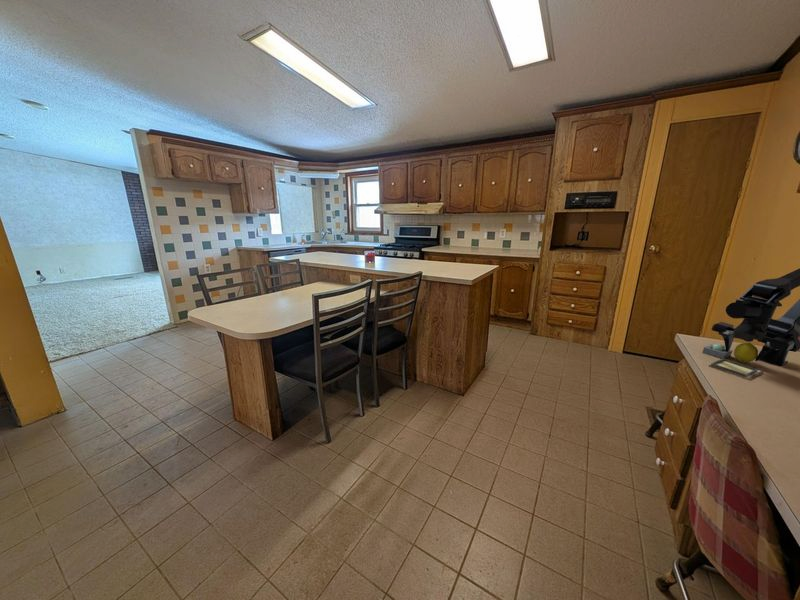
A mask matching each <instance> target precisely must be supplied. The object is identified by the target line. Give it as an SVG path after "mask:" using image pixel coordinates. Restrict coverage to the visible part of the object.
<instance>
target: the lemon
mask: <svg viewBox="0 0 800 600" xmlns="http://www.w3.org/2000/svg"><path fill="white" fill-rule="evenodd" d="M758 354H759V350H758V348H757V347H756V346H755V345H754V344H752V343H751V342H743V343H739V344H737V346H735V348H734V350H733V356H734V357H735V359H737V360H738V361H739V362H741V364H742V363H751V362H753V361H755V360H756V357H757V356H758Z"/></svg>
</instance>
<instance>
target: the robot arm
mask: <svg viewBox="0 0 800 600" xmlns="http://www.w3.org/2000/svg"><path fill="white" fill-rule="evenodd" d="M798 287H800V267H799V268H797V269H795V270H793V271H791V272H788V273H786V274H784V275H782V276H780V277H777V278H768V279H767V278H766V279H763V280H760V281H757V282H755V283H754V284H753V285H752V286H750V288H748V289H747V290H746V291H745V292H744V293H743V294H742V295H741V296H740V297H739V298H737V299H736V300H735V301H733V302H731V303H729V304H728V305H727V306H726V308H725V313H726V314H727V316H728V317H729V318H732V319H743V320H742V322H741V323H739V325H737V326H736V327H735V326H734V324H731V323H727V322H724V321H719V322H717V323H714V324H713V325H712V327H711V331H712V332H713V331H714V332H717V334H718V335H721V337H722V338H723V341H724V342H723V343H724V346H725V349H726V352H728V351H729V350H731V347H732V345H733V342H734V339H739V340H743V341H745V342H746V343H751V342H753V341H754V340H756V341H757V342H759V343H763V344H764V345H762V348H761V350H760V351H759V352H758V355H757V357H756V359H755V360H754V361H755V362H758V361H761V362H766V363H769V364H772V365H775V366H779V367H782V366H785V365H786V364H788V363H789V361H788V360H786V358H787V356H788V354H789V352H794V353H796V352H798V351H800V339H799V337H800V298H799V299H798V300H797V301H796V302H795V303H794V304H793V305H792V306H791V307H790V308H789V309H788V310H787V311H786V312H785V313H784V314H783V315H781V317H780V318H776V319H773V316H774V314H775V311H776V309H777V307H778V308H779V307H782V306H783V305H782V303H781V302H780V301H782V300H783V299H785V298H787V297H790V296H791V293H792V290H794V289H796V288H798Z"/></svg>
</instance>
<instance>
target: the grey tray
mask: <svg viewBox="0 0 800 600" xmlns="http://www.w3.org/2000/svg"><path fill="white" fill-rule="evenodd" d="M708 367H710V368H713V369H716V370H719V371H721V372H724V373H726V374H731V375H733V376H736V377H739V378H742V379H745V380H748V381H750V380H752V379H753V378H756V377H757V376H759V375H762V374H763V373H764V371H762V370H759V369H758V368H755V367H752V366H749V365H745V364H742V363H738V362H735V361H732V360H728V359H727V358H725V359H721V358H719V359H718V360H716V361H714V362H711V364H709V365H708Z"/></svg>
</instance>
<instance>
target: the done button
mask: <svg viewBox="0 0 800 600" xmlns="http://www.w3.org/2000/svg"><path fill="white" fill-rule="evenodd" d="M712 345H713V348H712V349H715V350H718V351H721V352H723V351H724V348H725V344H719V343H713V344H712Z"/></svg>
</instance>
